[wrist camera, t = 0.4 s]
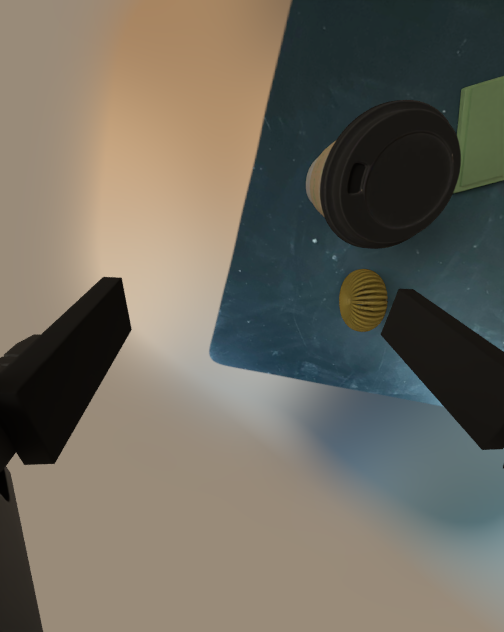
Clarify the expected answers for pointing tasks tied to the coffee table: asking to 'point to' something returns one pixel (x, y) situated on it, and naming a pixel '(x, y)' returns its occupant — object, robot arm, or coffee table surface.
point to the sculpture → (363, 300)
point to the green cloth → (481, 134)
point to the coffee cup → (386, 174)
